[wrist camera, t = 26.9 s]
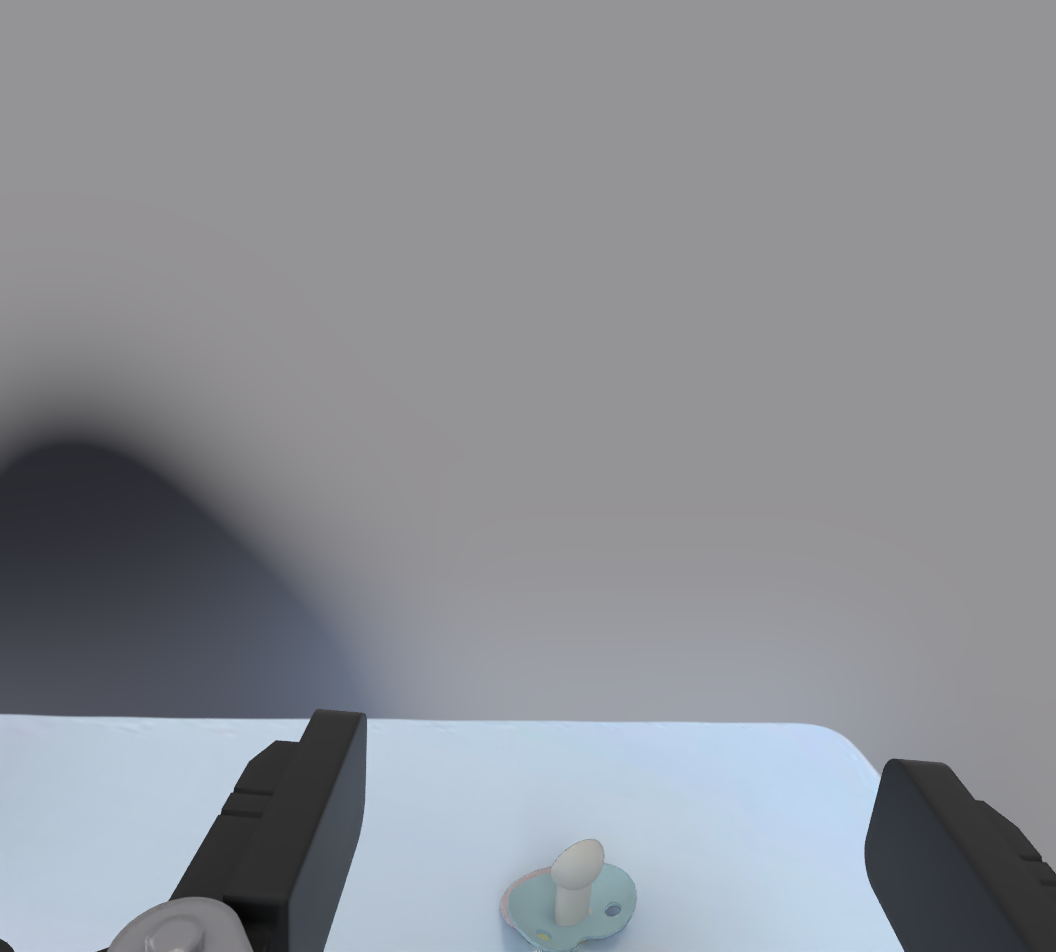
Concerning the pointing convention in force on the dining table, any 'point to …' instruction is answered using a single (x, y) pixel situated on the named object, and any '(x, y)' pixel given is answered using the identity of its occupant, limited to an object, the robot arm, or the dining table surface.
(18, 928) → the dining table surface
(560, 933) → the pacifier
